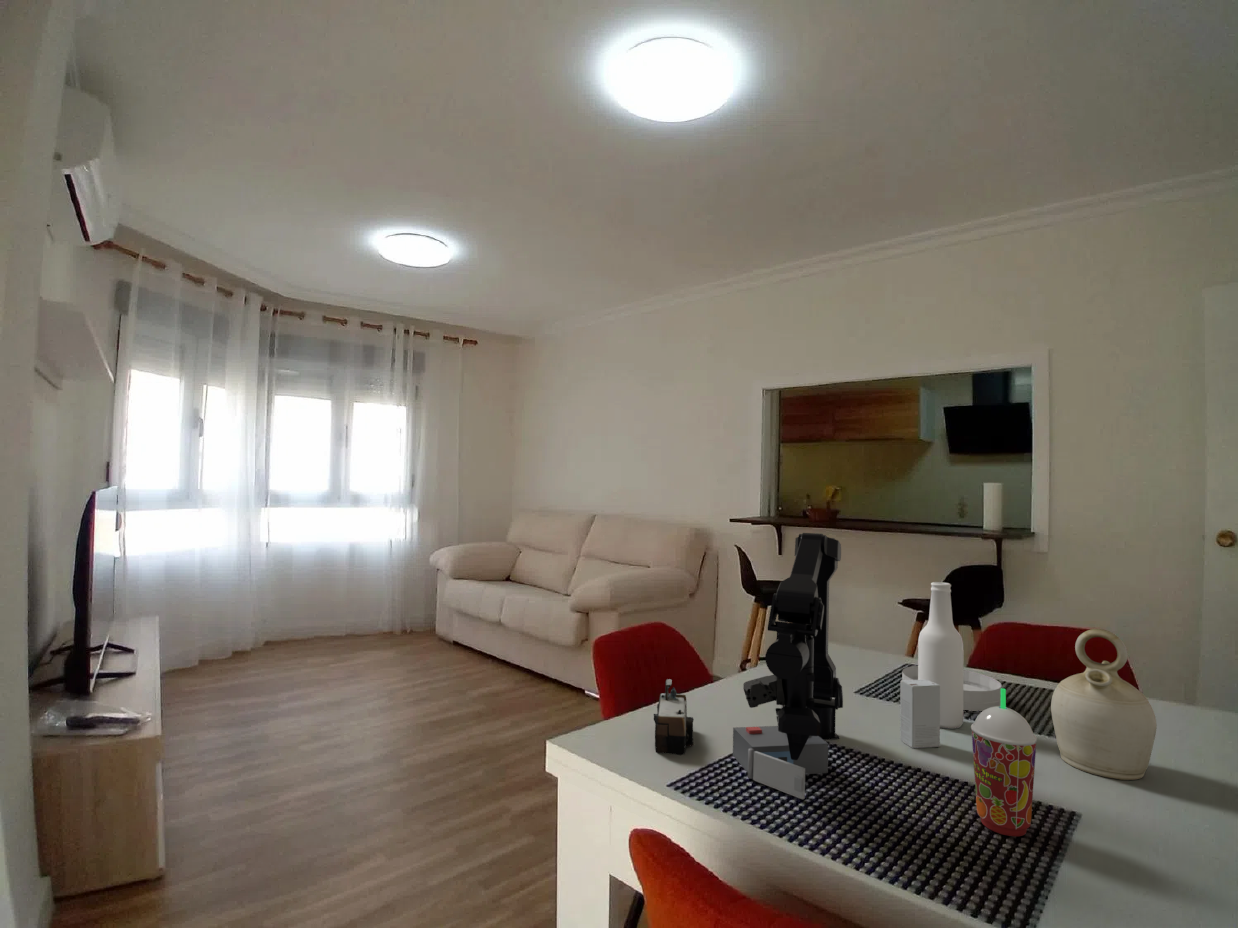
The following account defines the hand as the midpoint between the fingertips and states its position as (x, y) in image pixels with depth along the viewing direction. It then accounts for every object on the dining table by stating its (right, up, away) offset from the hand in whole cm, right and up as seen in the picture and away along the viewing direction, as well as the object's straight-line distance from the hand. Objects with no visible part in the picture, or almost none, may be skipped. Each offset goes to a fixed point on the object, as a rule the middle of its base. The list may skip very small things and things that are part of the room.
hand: (794, 758), depth 105 cm
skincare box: (+30, -6, +19) cm, 36 cm away
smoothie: (+27, -5, -12) cm, 30 cm away
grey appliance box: (-1, -5, +8) cm, 9 cm away
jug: (+60, -7, +11) cm, 61 cm away
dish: (+52, -9, +50) cm, 73 cm away
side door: (-4, -4, -2) cm, 6 cm away
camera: (-18, -5, +17) cm, 26 cm away
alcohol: (+41, -7, +32) cm, 52 cm away
